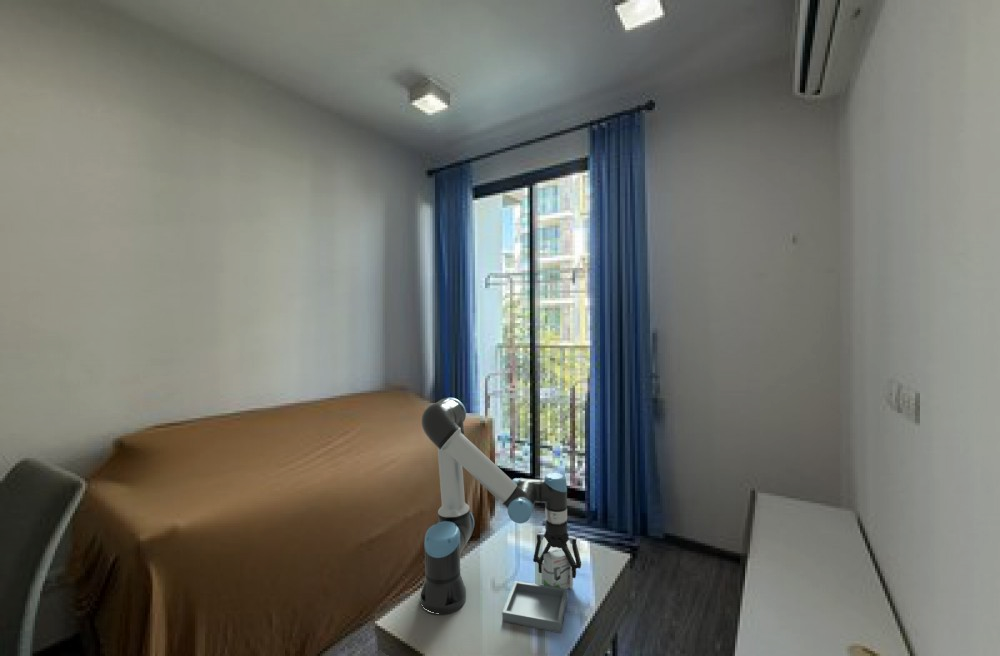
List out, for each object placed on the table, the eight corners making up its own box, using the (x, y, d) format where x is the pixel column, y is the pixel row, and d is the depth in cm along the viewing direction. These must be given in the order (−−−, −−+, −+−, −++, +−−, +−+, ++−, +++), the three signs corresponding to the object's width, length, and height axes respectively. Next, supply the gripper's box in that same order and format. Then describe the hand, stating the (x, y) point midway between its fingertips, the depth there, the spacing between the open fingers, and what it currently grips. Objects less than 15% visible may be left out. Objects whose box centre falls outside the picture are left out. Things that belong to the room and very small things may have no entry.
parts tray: (502, 621, 125) (502, 612, 125) (514, 589, 141) (514, 580, 141) (560, 633, 120) (560, 622, 120) (567, 598, 136) (567, 589, 136)
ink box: (551, 595, 138) (550, 560, 137) (543, 587, 142) (542, 553, 142) (571, 586, 142) (571, 553, 142) (562, 579, 146) (562, 546, 146)
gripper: (523, 521, 141) (524, 585, 141) (587, 528, 135) (588, 596, 135) (527, 511, 148) (528, 572, 148) (589, 518, 142) (590, 582, 142)
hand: (557, 583), depth 142 cm, fingers closed on ink box, 9 cm apart
